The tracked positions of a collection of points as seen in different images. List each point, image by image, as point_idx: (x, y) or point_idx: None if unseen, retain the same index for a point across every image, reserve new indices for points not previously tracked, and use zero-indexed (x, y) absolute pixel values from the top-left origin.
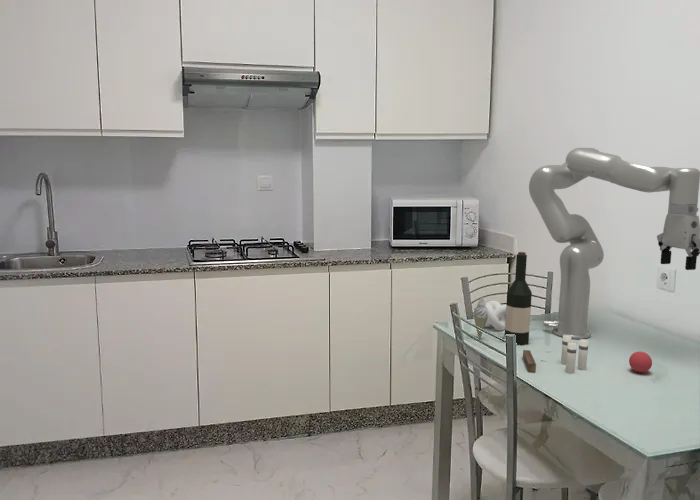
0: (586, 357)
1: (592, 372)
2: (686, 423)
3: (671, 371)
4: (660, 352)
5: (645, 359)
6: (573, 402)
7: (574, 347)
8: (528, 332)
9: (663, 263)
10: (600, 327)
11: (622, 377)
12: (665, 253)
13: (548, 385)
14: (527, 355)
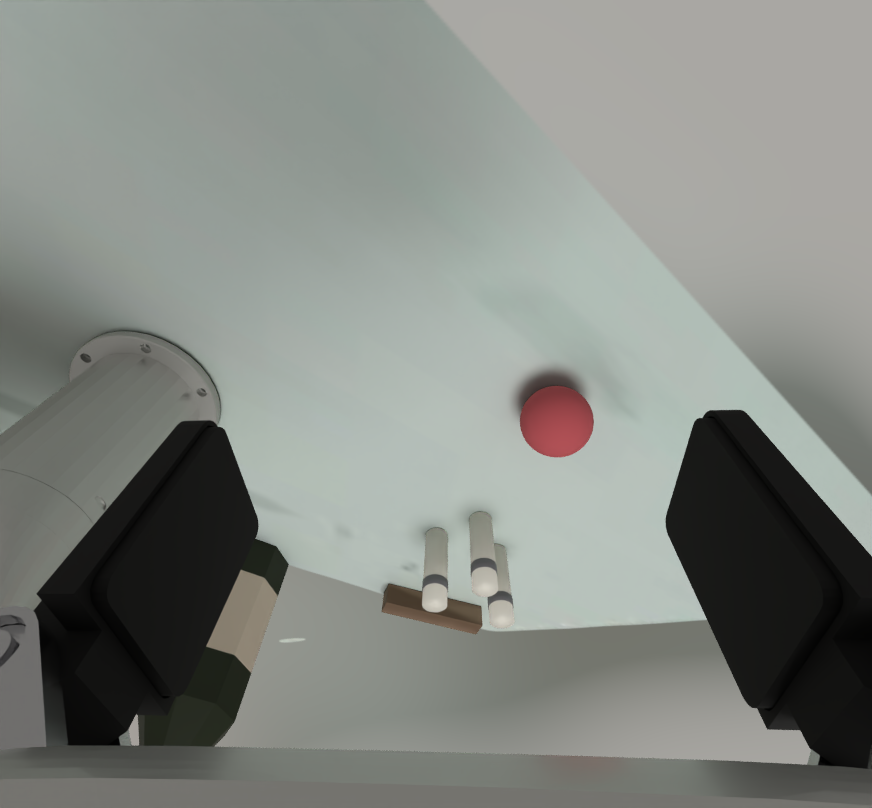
0: (493, 543)
1: (513, 511)
2: (848, 497)
3: (581, 299)
4: (383, 183)
5: (589, 437)
6: (646, 612)
7: (513, 614)
8: (266, 578)
9: (253, 518)
10: (18, 224)
11: (569, 467)
12: (178, 645)
13: (554, 613)
14: (421, 618)
